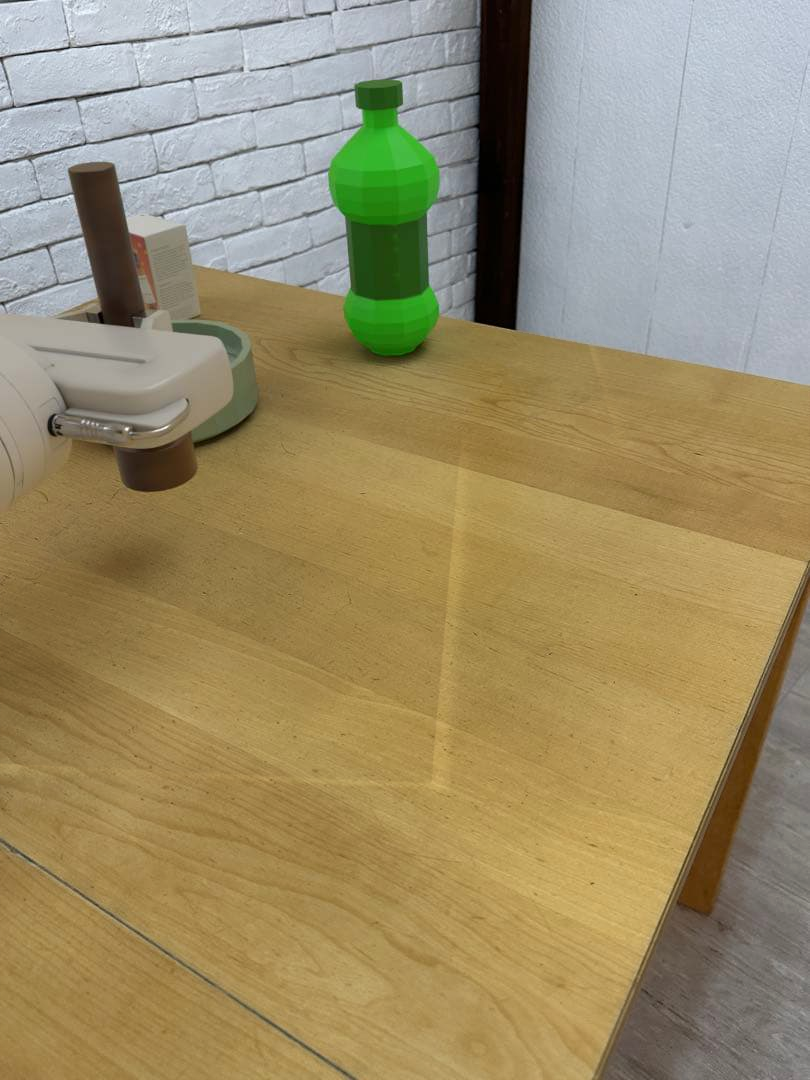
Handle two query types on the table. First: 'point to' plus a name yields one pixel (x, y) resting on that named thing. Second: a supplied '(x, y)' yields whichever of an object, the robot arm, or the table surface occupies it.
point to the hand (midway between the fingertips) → (134, 318)
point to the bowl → (241, 374)
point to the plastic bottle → (386, 224)
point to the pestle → (123, 312)
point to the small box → (164, 266)
